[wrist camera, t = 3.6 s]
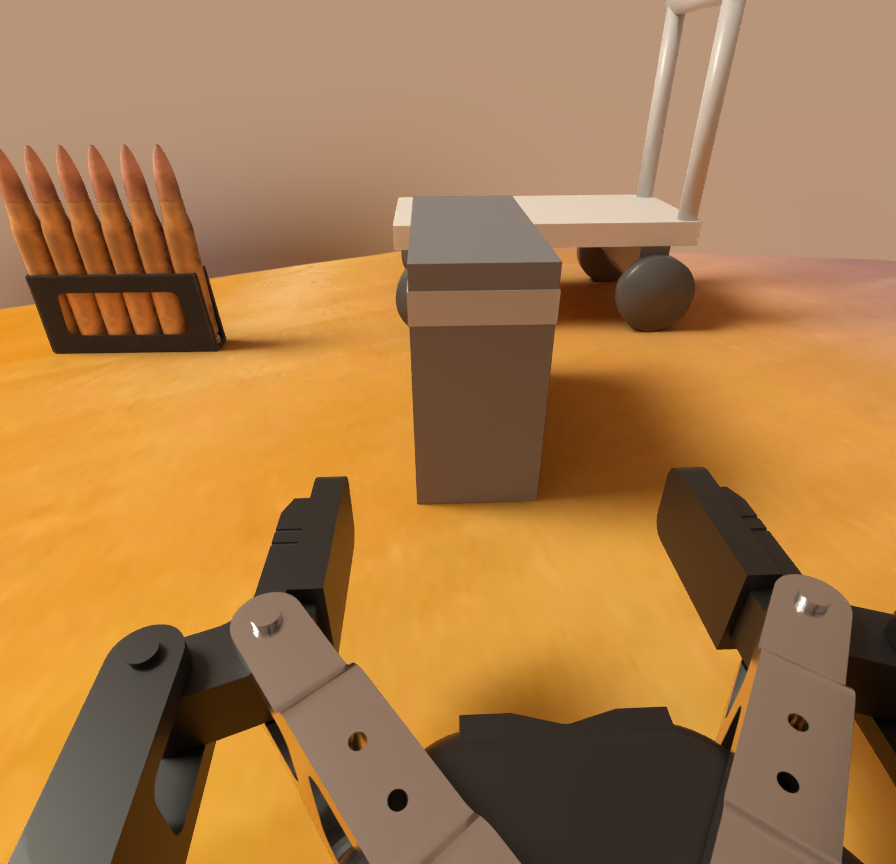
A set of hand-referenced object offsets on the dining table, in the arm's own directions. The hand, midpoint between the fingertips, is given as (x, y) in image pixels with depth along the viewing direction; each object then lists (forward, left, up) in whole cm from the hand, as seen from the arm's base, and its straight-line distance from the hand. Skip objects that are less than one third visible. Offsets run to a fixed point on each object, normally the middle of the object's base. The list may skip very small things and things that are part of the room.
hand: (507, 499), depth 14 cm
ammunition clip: (+21, -24, -6) cm, 33 cm away
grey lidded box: (0, -13, -6) cm, 14 cm away
